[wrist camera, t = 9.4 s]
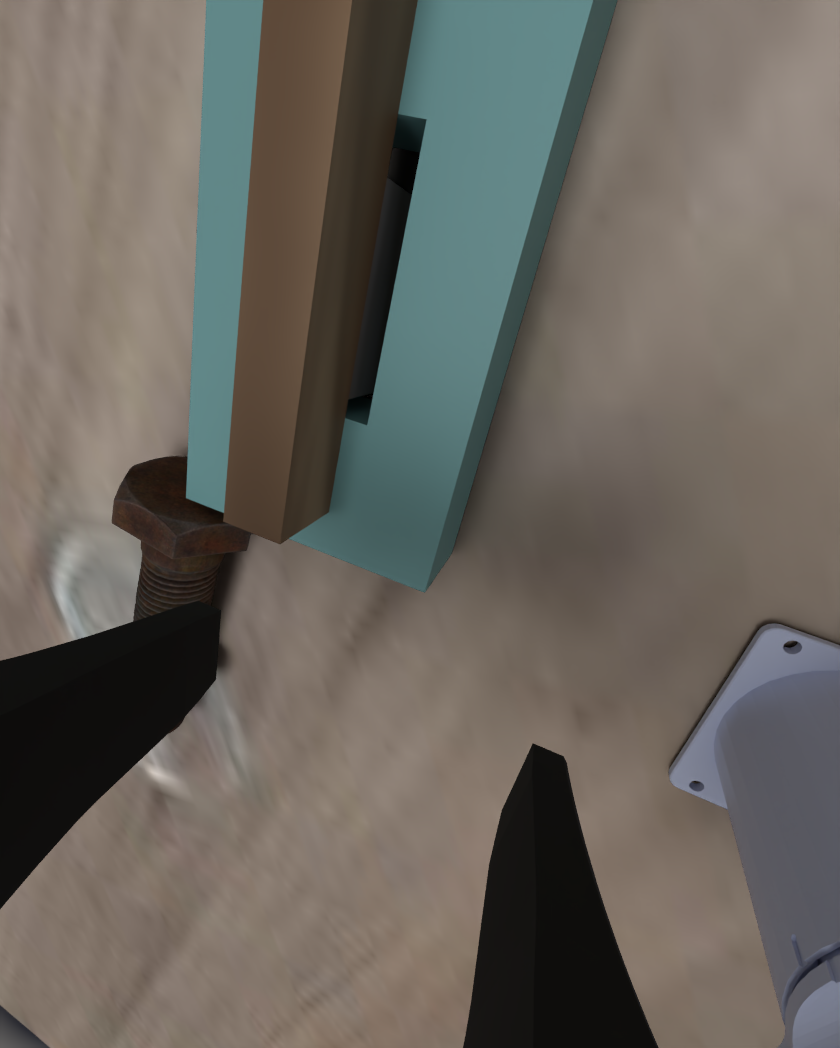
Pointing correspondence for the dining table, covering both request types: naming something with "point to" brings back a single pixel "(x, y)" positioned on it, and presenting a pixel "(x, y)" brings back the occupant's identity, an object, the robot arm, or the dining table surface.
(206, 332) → the post block
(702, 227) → the dining table surface
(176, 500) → the bolt
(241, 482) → the long brown beam
